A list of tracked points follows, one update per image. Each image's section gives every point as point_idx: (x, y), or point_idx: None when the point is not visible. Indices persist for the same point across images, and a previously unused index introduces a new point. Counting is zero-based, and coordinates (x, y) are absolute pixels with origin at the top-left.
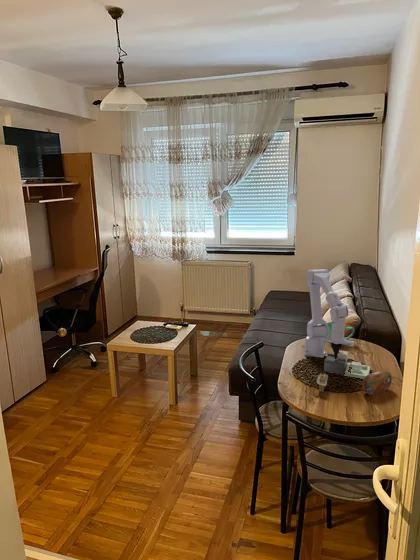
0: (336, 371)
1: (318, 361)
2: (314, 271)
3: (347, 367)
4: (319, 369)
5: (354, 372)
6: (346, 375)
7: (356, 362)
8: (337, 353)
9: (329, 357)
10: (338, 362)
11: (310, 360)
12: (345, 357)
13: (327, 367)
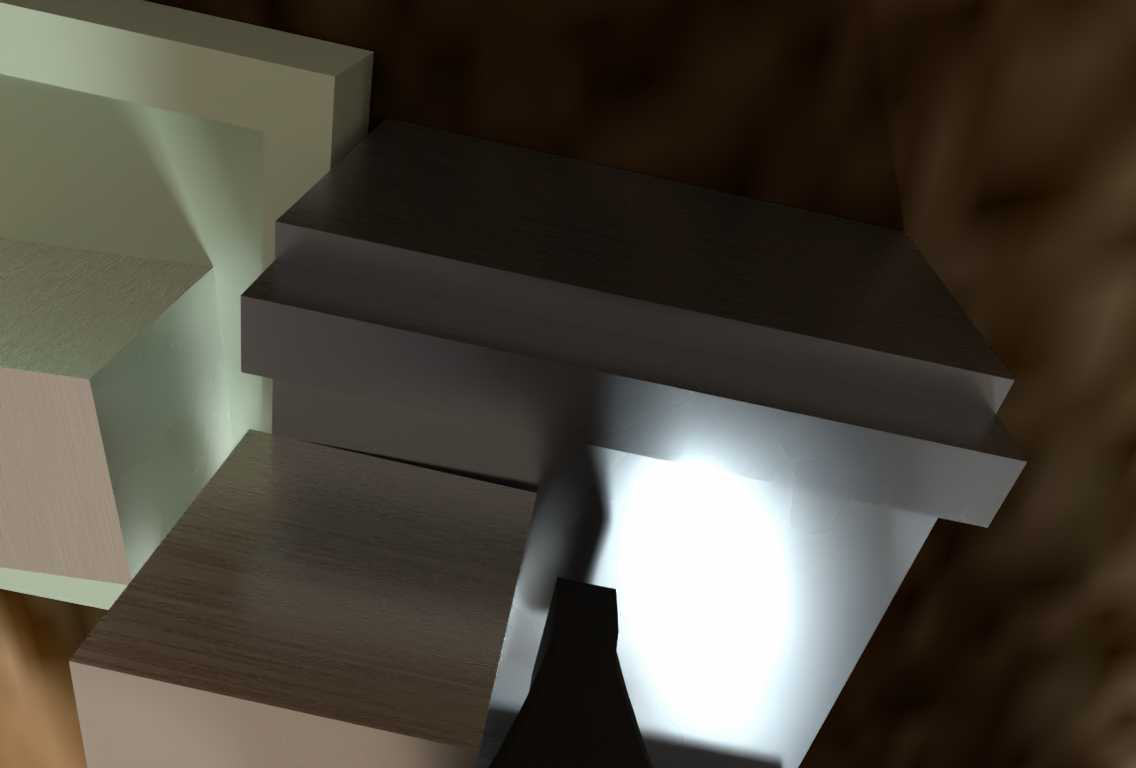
0: (579, 186)
1: (894, 700)
2: None
3: None
4: None
5: (125, 263)
6: (306, 48)
7: (8, 541)
8: (508, 747)
9: (748, 696)
10: (498, 336)
11: (1054, 720)
12: (201, 569)
13: (850, 272)
